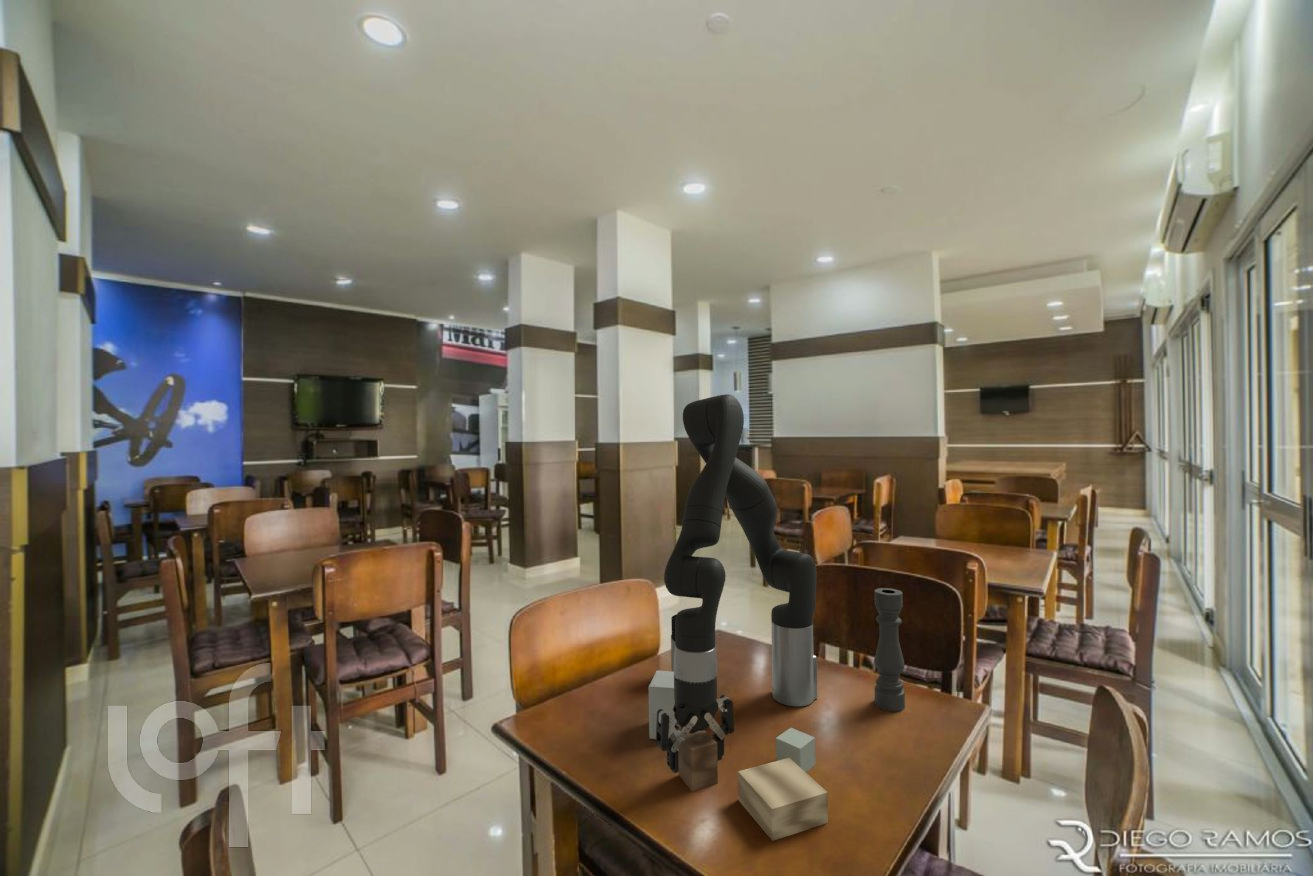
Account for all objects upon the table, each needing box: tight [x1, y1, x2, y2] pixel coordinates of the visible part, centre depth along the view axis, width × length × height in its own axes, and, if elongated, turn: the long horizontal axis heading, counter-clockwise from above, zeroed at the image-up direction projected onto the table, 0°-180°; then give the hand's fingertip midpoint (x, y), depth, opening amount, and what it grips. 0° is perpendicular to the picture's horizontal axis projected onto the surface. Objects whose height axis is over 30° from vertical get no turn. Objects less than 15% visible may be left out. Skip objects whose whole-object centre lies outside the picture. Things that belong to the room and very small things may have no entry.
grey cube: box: [775, 727, 816, 773], centre depth 101 cm, size 5×5×5 cm
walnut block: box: [677, 730, 719, 792], centre depth 97 cm, size 5×5×7 cm
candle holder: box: [873, 587, 906, 712], centre depth 123 cm, size 6×6×25 cm
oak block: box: [737, 758, 829, 842], centre depth 88 cm, size 10×10×5 cm
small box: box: [648, 670, 682, 740], centre depth 113 cm, size 8×6×10 cm
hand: (695, 764), depth 97 cm, fingers open, 8 cm apart
